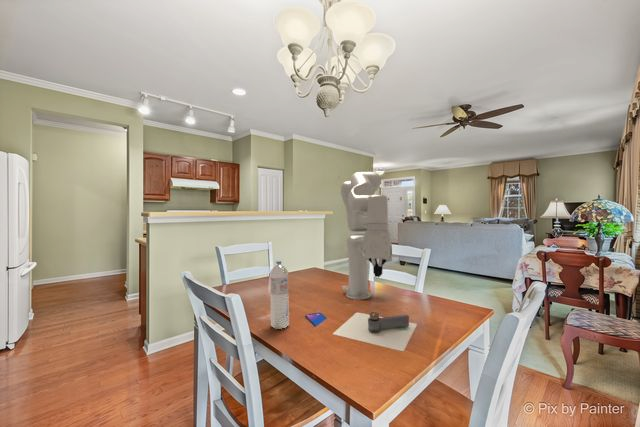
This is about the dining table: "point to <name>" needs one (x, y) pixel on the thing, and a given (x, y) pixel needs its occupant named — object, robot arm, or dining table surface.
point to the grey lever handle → (386, 322)
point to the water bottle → (279, 296)
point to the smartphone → (316, 318)
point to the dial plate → (386, 338)
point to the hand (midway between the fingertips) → (378, 275)
